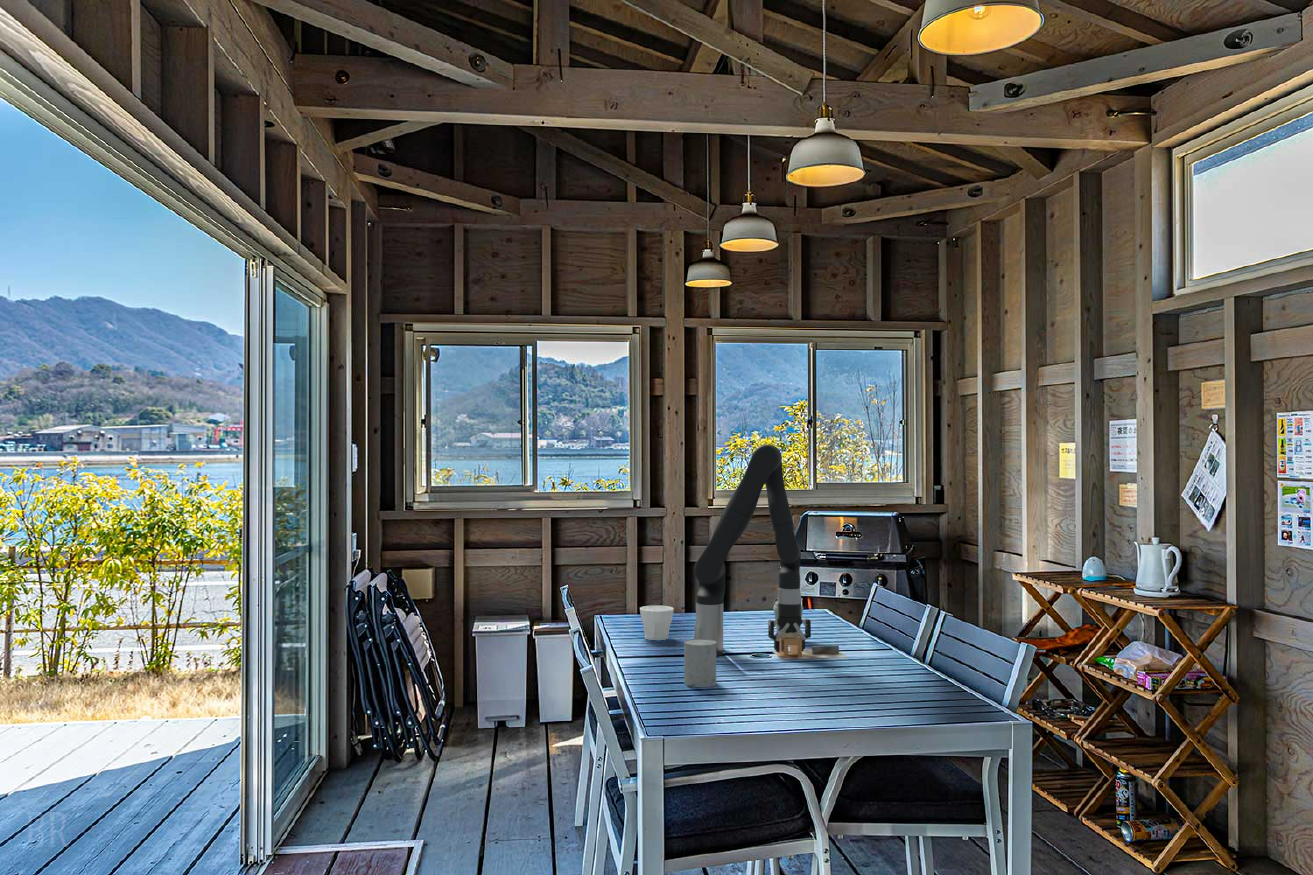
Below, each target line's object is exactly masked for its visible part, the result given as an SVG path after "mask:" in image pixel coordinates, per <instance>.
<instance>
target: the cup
mask: <svg viewBox="0 0 1313 875" xmlns="http://www.w3.org/2000/svg"><path fill="white" fill-rule="evenodd" d="M674 610H675V609H674V607H672V606H667V605H646V606H645V605H644V606H641V607H639V612H640V618H641V622H642V626H643V631H644V639H645V640H646V639H649V640H648V641H650V640H664V641H666V640H665V639H667V640H668V639H669V633H670V627H671V624H672V622H673V615H674Z"/></svg>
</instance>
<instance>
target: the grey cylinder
mask: <svg viewBox="0 0 1313 875" xmlns="http://www.w3.org/2000/svg"><path fill="white" fill-rule="evenodd" d="M683 642H684V645H683V646H684V658H683V659H684V660H683V662H684V665H683V667H684V668H683V669H684V670H683V673H684V674H683V675H684V676H683V678H684V680H683V681H684V682H683V684H684V683H685V684H686V685H689V686H692V687H691V688H695V687H707V688H712V687H711V686H713V687H715V686H716V685H717V656H716V641H714V640H710V639H694V638H690V639H686V640H684V641H683ZM685 684H684V685H685ZM686 685H685V686H686ZM714 685H715V686H714ZM689 686H688V687H689Z"/></svg>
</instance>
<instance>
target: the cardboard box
mask: <svg viewBox="0 0 1313 875" xmlns="http://www.w3.org/2000/svg"><path fill="white" fill-rule="evenodd" d="M779 641H780V652H777V653H778V654H779V655H781V656H782V657H784V658H788V651H790V653H792V654H793V655H795V656H796V657H802V639H801V638H800V637H798V636H797V635H795V634H783V635H782V636H781V638H780V639H779Z"/></svg>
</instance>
